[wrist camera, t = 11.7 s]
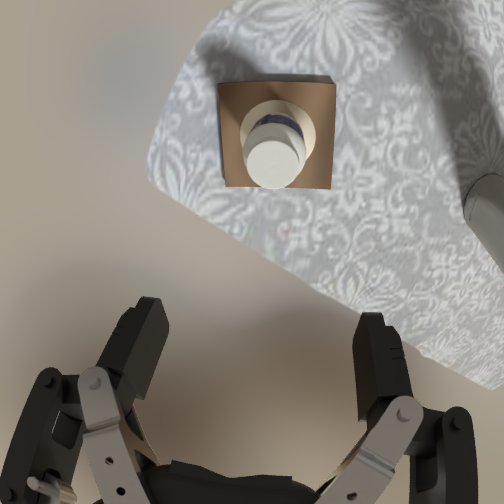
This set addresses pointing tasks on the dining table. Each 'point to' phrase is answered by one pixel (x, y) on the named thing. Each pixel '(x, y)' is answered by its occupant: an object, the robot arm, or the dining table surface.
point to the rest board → (283, 101)
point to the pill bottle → (274, 151)
